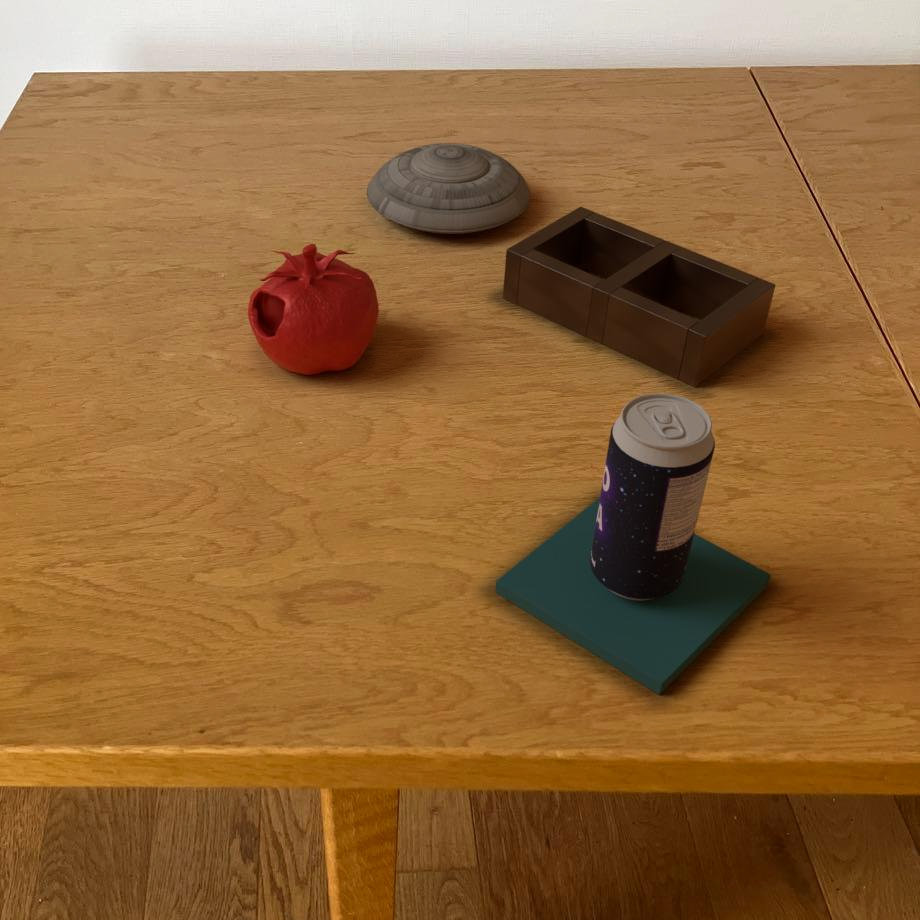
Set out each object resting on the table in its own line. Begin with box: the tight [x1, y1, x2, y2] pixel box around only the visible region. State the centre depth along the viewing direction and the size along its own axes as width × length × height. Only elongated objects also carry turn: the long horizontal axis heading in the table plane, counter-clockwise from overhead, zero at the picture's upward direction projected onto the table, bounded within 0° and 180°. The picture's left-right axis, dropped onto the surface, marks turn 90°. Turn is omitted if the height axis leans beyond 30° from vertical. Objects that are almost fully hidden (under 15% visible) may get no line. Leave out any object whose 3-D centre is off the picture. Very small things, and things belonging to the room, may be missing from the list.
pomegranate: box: [247, 243, 380, 376], centre depth 90 cm, size 10×10×9 cm
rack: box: [502, 206, 776, 388], centre depth 95 cm, size 18×10×4 cm, turn 47°
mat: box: [494, 496, 772, 695], centre depth 74 cm, size 12×12×1 cm
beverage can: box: [590, 392, 716, 601], centre depth 69 cm, size 6×6×12 cm
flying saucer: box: [366, 142, 532, 235], centre depth 109 cm, size 15×15×6 cm
